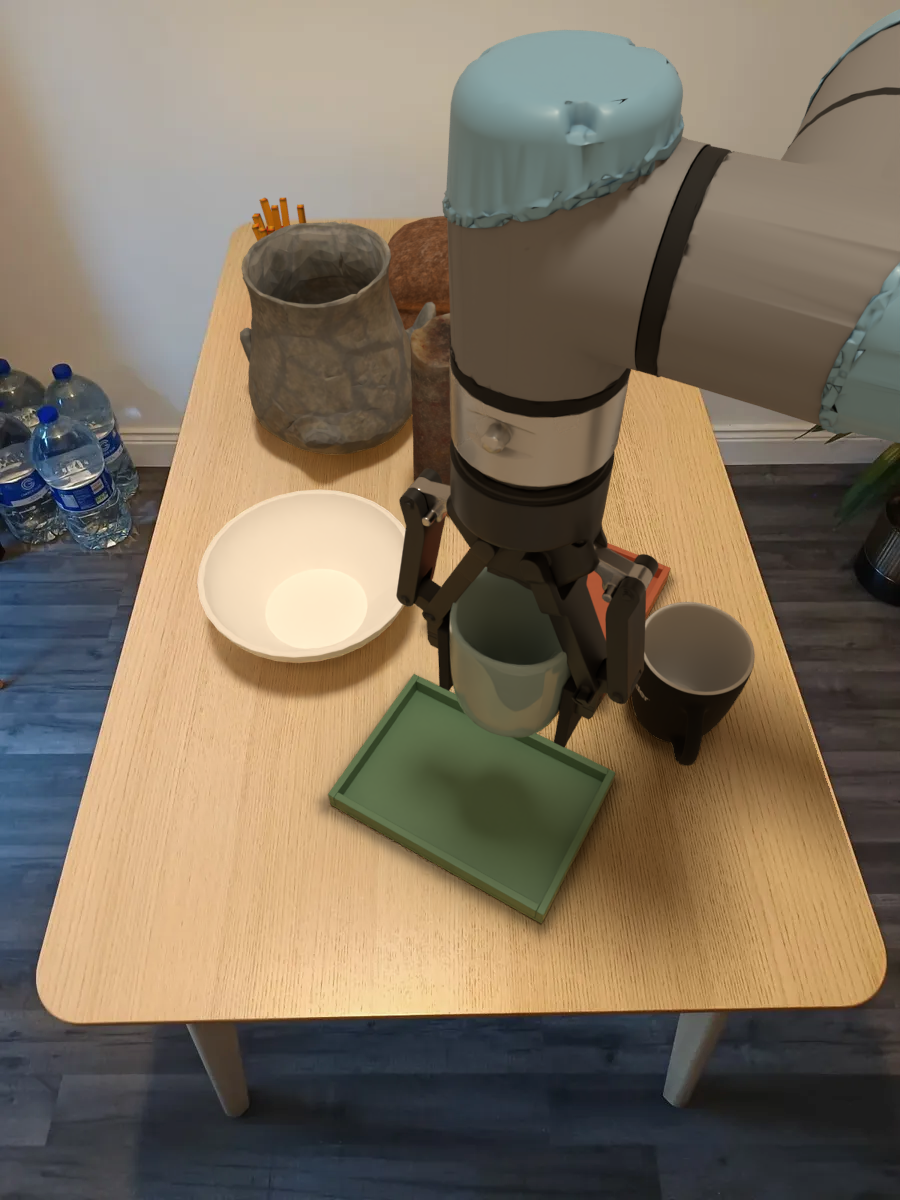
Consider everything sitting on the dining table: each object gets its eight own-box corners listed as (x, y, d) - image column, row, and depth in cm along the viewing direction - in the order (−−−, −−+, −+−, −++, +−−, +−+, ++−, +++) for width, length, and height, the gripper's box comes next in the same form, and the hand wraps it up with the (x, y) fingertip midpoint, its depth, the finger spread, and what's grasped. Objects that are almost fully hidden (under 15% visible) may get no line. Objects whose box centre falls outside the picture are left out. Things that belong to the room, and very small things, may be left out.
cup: (585, 678, 58) (604, 585, 50) (543, 773, 54) (557, 688, 46) (479, 639, 60) (482, 544, 52) (431, 728, 56) (426, 639, 48)
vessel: (223, 484, 93) (174, 324, 77) (266, 358, 107) (232, 200, 91) (422, 494, 92) (414, 333, 76) (440, 365, 105) (437, 206, 90)
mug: (620, 664, 78) (637, 596, 70) (720, 673, 78) (750, 605, 70) (620, 785, 71) (640, 724, 63) (731, 796, 70) (765, 736, 62)
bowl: (232, 536, 89) (217, 489, 83) (422, 536, 88) (419, 488, 83) (197, 700, 77) (176, 657, 71) (416, 699, 76) (412, 656, 71)
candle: (497, 502, 91) (505, 341, 75) (438, 529, 89) (433, 369, 73) (459, 460, 95) (459, 299, 79) (401, 485, 93) (389, 324, 77)
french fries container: (268, 340, 109) (246, 235, 98) (275, 299, 115) (255, 195, 104) (324, 339, 109) (308, 234, 98) (328, 297, 115) (314, 194, 104)
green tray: (612, 783, 71) (615, 772, 70) (541, 924, 64) (543, 915, 63) (414, 685, 77) (413, 673, 76) (330, 804, 70) (327, 794, 69)
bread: (397, 272, 118) (391, 190, 109) (612, 286, 115) (625, 203, 106) (373, 347, 108) (365, 263, 99) (609, 365, 105) (623, 280, 96)
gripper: (298, 412, 40) (348, 677, 58) (725, 582, 34) (633, 821, 52) (385, 328, 44) (407, 600, 62) (782, 466, 38) (678, 725, 56)
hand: (509, 700), depth 57 cm, fingers closed on cup, 8 cm apart
